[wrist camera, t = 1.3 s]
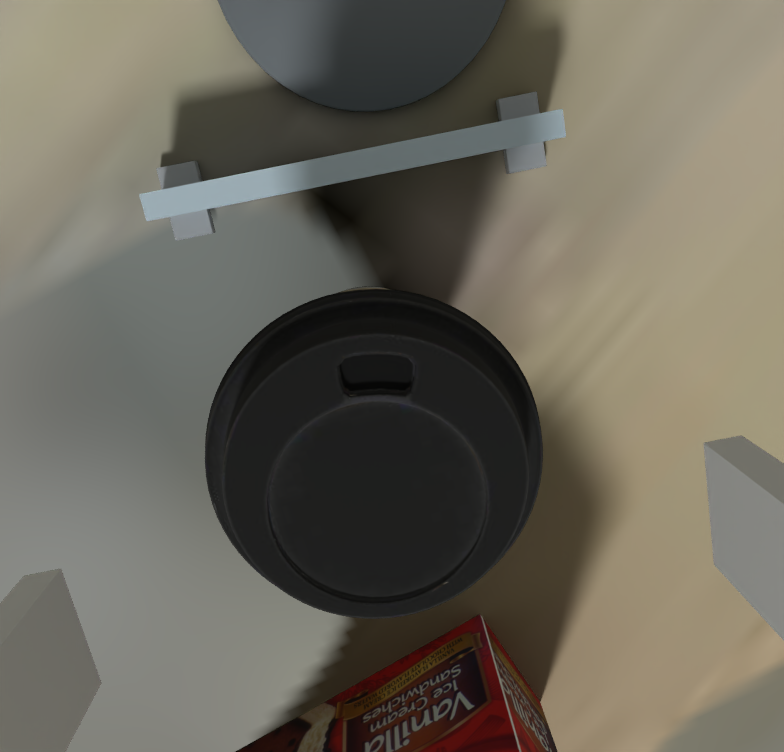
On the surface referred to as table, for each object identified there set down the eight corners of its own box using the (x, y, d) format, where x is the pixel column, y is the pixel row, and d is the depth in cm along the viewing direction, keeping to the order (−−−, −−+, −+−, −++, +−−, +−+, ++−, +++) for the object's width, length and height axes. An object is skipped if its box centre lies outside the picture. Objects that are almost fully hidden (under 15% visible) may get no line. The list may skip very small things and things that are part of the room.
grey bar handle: (179, 239, 31) (154, 247, 27) (159, 168, 30) (131, 166, 27) (542, 166, 31) (569, 164, 27) (533, 93, 30) (559, 80, 26)
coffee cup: (413, 207, 31) (462, 230, 17) (505, 392, 34) (616, 550, 19) (224, 308, 32) (115, 412, 18) (327, 481, 34) (305, 699, 20)
